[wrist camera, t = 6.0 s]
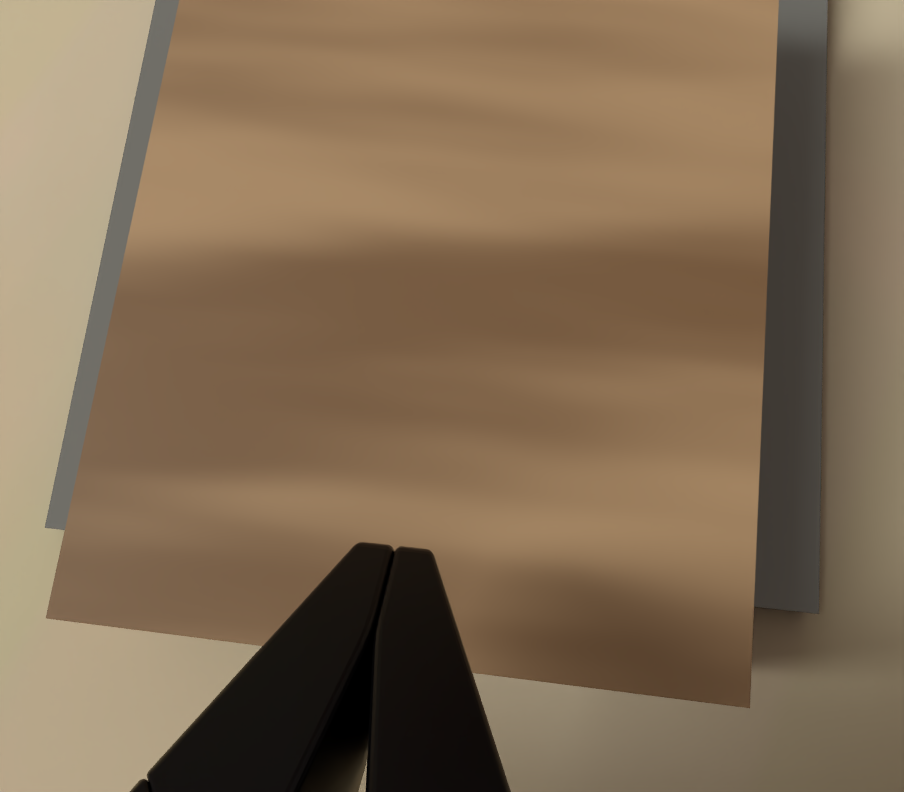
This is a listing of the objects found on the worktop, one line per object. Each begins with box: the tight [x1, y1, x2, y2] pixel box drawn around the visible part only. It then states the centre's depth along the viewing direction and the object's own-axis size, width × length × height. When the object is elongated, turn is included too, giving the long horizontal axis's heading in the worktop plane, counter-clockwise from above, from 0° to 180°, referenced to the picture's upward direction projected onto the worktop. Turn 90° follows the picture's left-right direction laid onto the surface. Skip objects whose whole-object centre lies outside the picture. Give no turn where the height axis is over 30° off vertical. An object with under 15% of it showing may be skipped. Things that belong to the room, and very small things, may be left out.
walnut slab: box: [46, 0, 779, 708], centre depth 15 cm, size 4×10×13 cm
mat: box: [45, 0, 828, 614], centre depth 17 cm, size 15×15×1 cm
